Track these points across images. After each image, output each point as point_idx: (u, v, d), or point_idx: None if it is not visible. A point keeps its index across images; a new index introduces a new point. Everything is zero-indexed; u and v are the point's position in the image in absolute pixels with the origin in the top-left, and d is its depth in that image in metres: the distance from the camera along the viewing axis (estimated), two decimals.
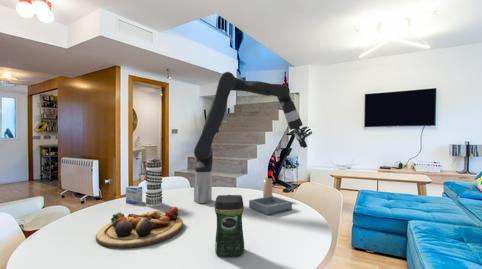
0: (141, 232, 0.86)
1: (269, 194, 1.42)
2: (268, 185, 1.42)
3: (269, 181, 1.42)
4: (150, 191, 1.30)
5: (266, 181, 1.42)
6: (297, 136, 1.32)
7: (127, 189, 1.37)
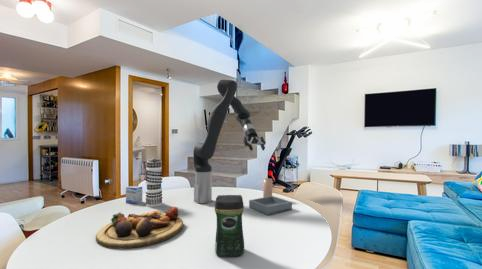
0: (141, 232, 0.86)
1: (269, 195, 1.42)
2: (268, 185, 1.42)
3: (269, 181, 1.42)
4: (150, 191, 1.30)
5: (266, 181, 1.42)
6: (260, 139, 1.60)
7: (127, 189, 1.37)
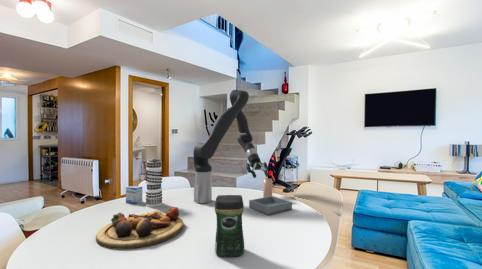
0: (141, 232, 0.86)
1: (269, 195, 1.42)
2: (268, 185, 1.42)
3: (269, 181, 1.42)
4: (150, 191, 1.30)
5: (266, 181, 1.42)
6: (263, 165, 1.56)
7: (127, 189, 1.37)
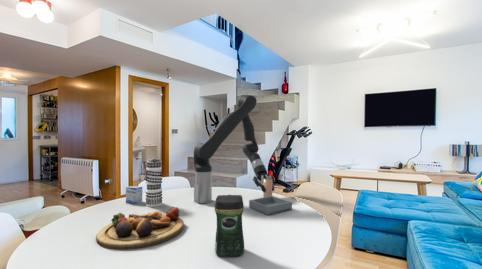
0: (142, 232, 0.86)
1: (269, 194, 1.42)
2: (268, 185, 1.42)
3: (269, 181, 1.42)
4: (150, 191, 1.30)
5: (266, 181, 1.42)
6: None
7: (127, 189, 1.37)
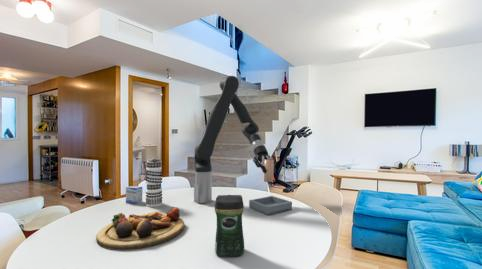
0: (142, 233, 0.85)
1: (270, 176, 1.32)
2: (269, 166, 1.32)
3: (270, 161, 1.33)
4: (150, 191, 1.30)
5: (267, 161, 1.33)
6: None
7: (127, 189, 1.37)
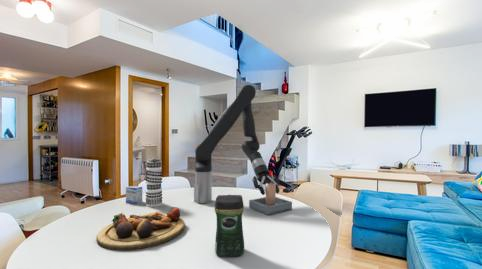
0: (142, 233, 0.85)
1: (272, 201, 1.24)
2: (270, 191, 1.24)
3: (272, 186, 1.24)
4: (150, 191, 1.30)
5: (269, 186, 1.24)
6: (273, 179, 1.30)
7: (127, 189, 1.37)
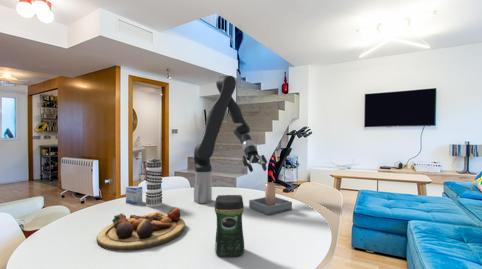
0: (142, 234, 0.85)
1: (272, 201, 1.24)
2: (270, 191, 1.24)
3: (272, 186, 1.24)
4: (150, 191, 1.30)
5: (268, 186, 1.24)
6: (261, 158, 1.42)
7: (127, 189, 1.37)
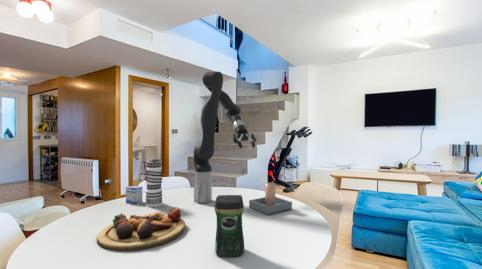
0: (142, 234, 0.84)
1: (272, 201, 1.24)
2: (270, 191, 1.24)
3: (272, 186, 1.24)
4: (150, 191, 1.30)
5: (268, 186, 1.24)
6: (250, 136, 1.51)
7: (127, 189, 1.37)
